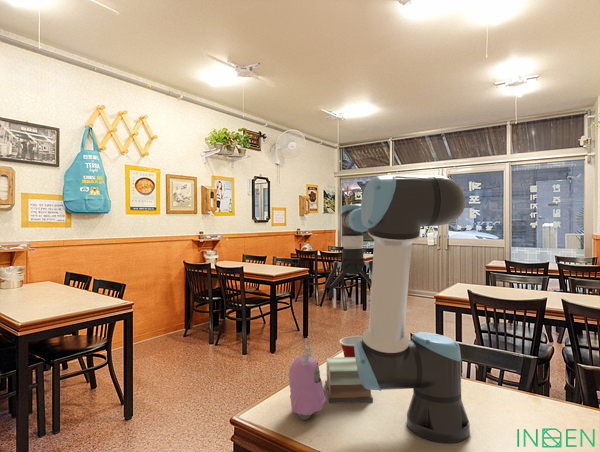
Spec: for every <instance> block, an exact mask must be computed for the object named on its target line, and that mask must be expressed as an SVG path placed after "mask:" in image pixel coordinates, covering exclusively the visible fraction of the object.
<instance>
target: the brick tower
mask: <svg viewBox="0 0 600 452" xmlns="http://www.w3.org/2000/svg"><path fill="white" fill-rule="evenodd" d="M324 385H325V389H326V394H327V399H328V403H329V404H335V403H337V404H338V403H339V404H341V403H343V404H344V403H373V402H374V397H373V395H372V390H368V389H366V388H364V387H363V385H362V383H361V381H360V378H359V374H358V370H357V365H356V359H355V357H344V356H342V357H339V356H338V357H326V380H324Z"/></svg>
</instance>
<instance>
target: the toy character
mask: <svg viewBox="0 0 600 452" xmlns="http://www.w3.org/2000/svg"><path fill="white" fill-rule="evenodd" d="M309 342H310V340H309V339H305V341H304V351H305V353H304V354H303V355H299V356H297V357H296V358H295V359H294V360H293V362H291V365H290V367H289V371H288V381H289V382H288V383H289V388H290V389H289V392H290V396H289V398H290V405H291V409H290V410H291V412H293V413H295V414H298V417H299V418H300V419H301V420H303V421H308V419H309V418H310V417H312V414H315V413H317V412H320V411H322V408H323V406H324V404H325V403H326V402H327V398H326V396H325V394H324V389H323V388H324V387H323V381H322V378H321V371H320V367H319V361H318V360H317V359H316V358H315V357H314V356H312V355H311V351H312V348H310V346H309V345H310V344H309Z"/></svg>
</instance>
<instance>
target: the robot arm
mask: <svg viewBox="0 0 600 452" xmlns="http://www.w3.org/2000/svg"><path fill="white" fill-rule="evenodd" d="M465 207H466V197H465V193H464V191H463V190H462V188H461V187H460V185H459V184H458V183H457V182H455V181H454V180H452V179H451V178H449V177H446V176H443V175H438V174H429V175H426V174H425V175H423V174H420V175H419V174H418V175H416V174H412V175H411V174H387V175H386V174H385V175H377V176H373V177H372V178H370V179H369V180H368V181H367V184H366V186H365V188H364V191H363V194H362V198H361V204H344V205H342V207H341V215H340V216H341V238H342V239H341V247H343V248H342V249H341V253H342V254H341V256H342V258H341V259H342V260H341V262H339V261H336V260H335V261H333V266H332V269H331V271H330V273H329V275H328V277H327V279H326V281H325V284H324V287H325V288H327V289H329V297H330V299H332V305H333V306H332V308H333V309H337V289H336V286H337V285H338V284H339V283H340V281H342V280H343V278H344V277H345V276H346V275H347V274H348V275H353V274H354V275H358V274H361V276H362V277H363V278H364V279H365V280H366V281H367V283H368V284H369V285H370V289H369V290H370V294H369V295H370V306H369V307H370V308H369V318H368V319H369V320H368V321H369V322H368V328H367V329H364V331H363V333H362V335H361V336H362V342H361V341H358V342H356V343H355V346H354V351H355V359H356V365H357V370H358V374H359V378H360V381H361V383H362V385H363V387H364V388H366V389H368V390H371V391H381V392H382V391H385V390H386V391H387V390H407V389H408V390H409V389H411V390H413V391H412V393H413V394H412V396H411V399H410V403H409V406H408V409H407V412H406V426H408V429H409V430H410V431H412V433H414V434H415V435H417V436H419V437H421V438H423V439H425V440H429V441H431V442H437V443H442V444H443V443H444V444H445V443H447V444H451V443H460V442H462V441H464V440H466V439H467V438H469V436H470V432H471V429H470V425H471V424H470V421H469V417H468V413H467V411H466V409H465V407H464V404H463V400H462V356H461V347H460V345H459V343H458V342H457V341H456V340H454V339H453V338H450V337H448V336H447V335H446V336H445V335H442V334H438V333H434V332H428V331H427V332H425V331H416V332H414V333H412V336H411V339H410V338H409V336H408V335H407V334H406V333H405V326H406V317H407V315H406V314H407V304H408V295H409V284H410V282H409V278H410V269H411V257H412V256H411V255H412V247H413V245H412V244H413V243H414V242H415V241H416V240H418V239H419V238H420V235H421V227H438V226H444V225H448V224H450V223H453V222H455V221H456V220H458V219H459V218H460V217H461V215H462V214H463V213H464V209H465ZM364 232H367V234H368V235H369V236H370V237H371V238H372V239H373V253H372V257H373V258H372V261H371V260H368V261H364V248H362V247H364ZM340 266H341V267H342V270H341V272H340V273H339V274H338V276H337V277H336V278H335V279H334V281H333V278H334V276H335V274H336V273H337V270H338V269H339V268H340ZM365 266H366V267H367V268H368V270H369V272H370V273H371V278H370V277H369V275H368V274H367V273H366V272H365V271H364V270H363V268H364V267H365Z"/></svg>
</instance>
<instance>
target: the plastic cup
mask: <svg viewBox="0 0 600 452" xmlns="http://www.w3.org/2000/svg"><path fill="white" fill-rule="evenodd" d="M362 336H363V335H352V336H351V335H350V336H346V337H342V338H341V339H339V344H340V346H341V347H342V351H343V357H355V351H354V346H355V343H356V342H358V341H361V342H362Z"/></svg>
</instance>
